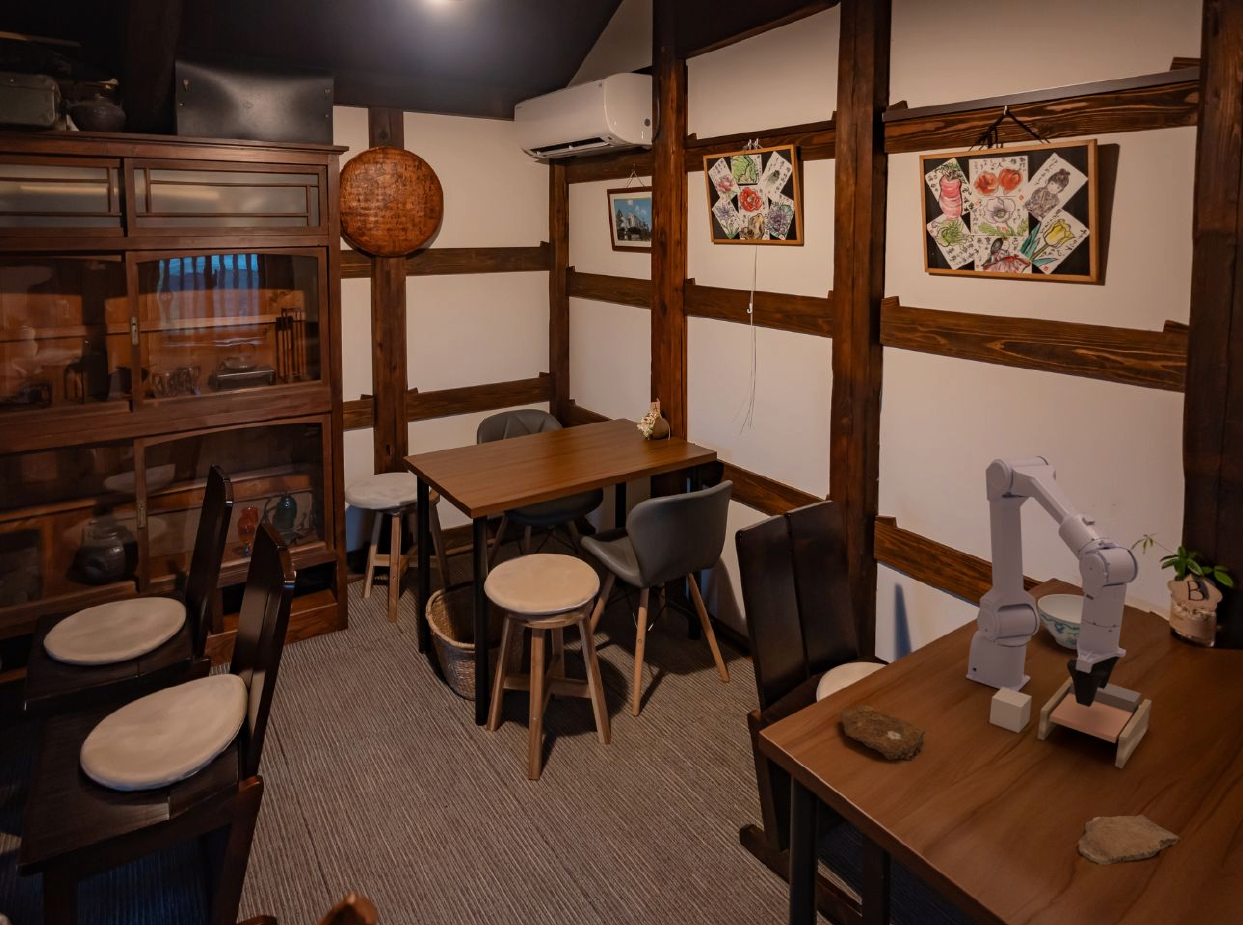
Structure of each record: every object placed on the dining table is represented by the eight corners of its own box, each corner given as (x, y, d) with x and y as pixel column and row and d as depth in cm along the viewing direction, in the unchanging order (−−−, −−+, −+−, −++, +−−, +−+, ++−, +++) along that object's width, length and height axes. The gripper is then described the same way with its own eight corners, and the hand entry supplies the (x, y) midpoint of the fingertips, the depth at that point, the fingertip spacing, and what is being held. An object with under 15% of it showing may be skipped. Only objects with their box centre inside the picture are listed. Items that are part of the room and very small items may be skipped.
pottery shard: (1116, 888, 117) (1183, 843, 124) (1117, 872, 116) (1184, 828, 123) (1060, 851, 124) (1126, 810, 131) (1060, 836, 124) (1127, 796, 130)
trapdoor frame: (1037, 738, 149) (1041, 709, 147) (1067, 703, 160) (1070, 675, 158) (1121, 768, 140) (1126, 738, 139) (1147, 729, 151) (1151, 700, 150)
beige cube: (989, 722, 154) (992, 697, 153) (1000, 711, 157) (1002, 686, 156) (1018, 733, 151) (1021, 707, 149) (1028, 721, 154) (1031, 696, 153)
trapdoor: (1049, 720, 147) (1051, 704, 146) (1076, 689, 157) (1078, 674, 156) (1114, 743, 140) (1117, 726, 139) (1138, 708, 150) (1140, 693, 149)
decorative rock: (820, 739, 151) (902, 776, 141) (821, 719, 149) (904, 755, 140) (852, 709, 159) (932, 742, 149) (854, 690, 157) (934, 722, 148)
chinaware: (1041, 621, 193) (1045, 588, 191) (1118, 637, 185) (1122, 604, 183) (1027, 647, 181) (1031, 612, 179) (1108, 666, 173) (1113, 630, 171)
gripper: (1115, 642, 133) (1104, 721, 136) (1141, 612, 143) (1130, 686, 147) (1066, 628, 138) (1056, 705, 141) (1094, 600, 148) (1084, 673, 151)
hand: (1091, 695), depth 144 cm, fingers open, 7 cm apart
